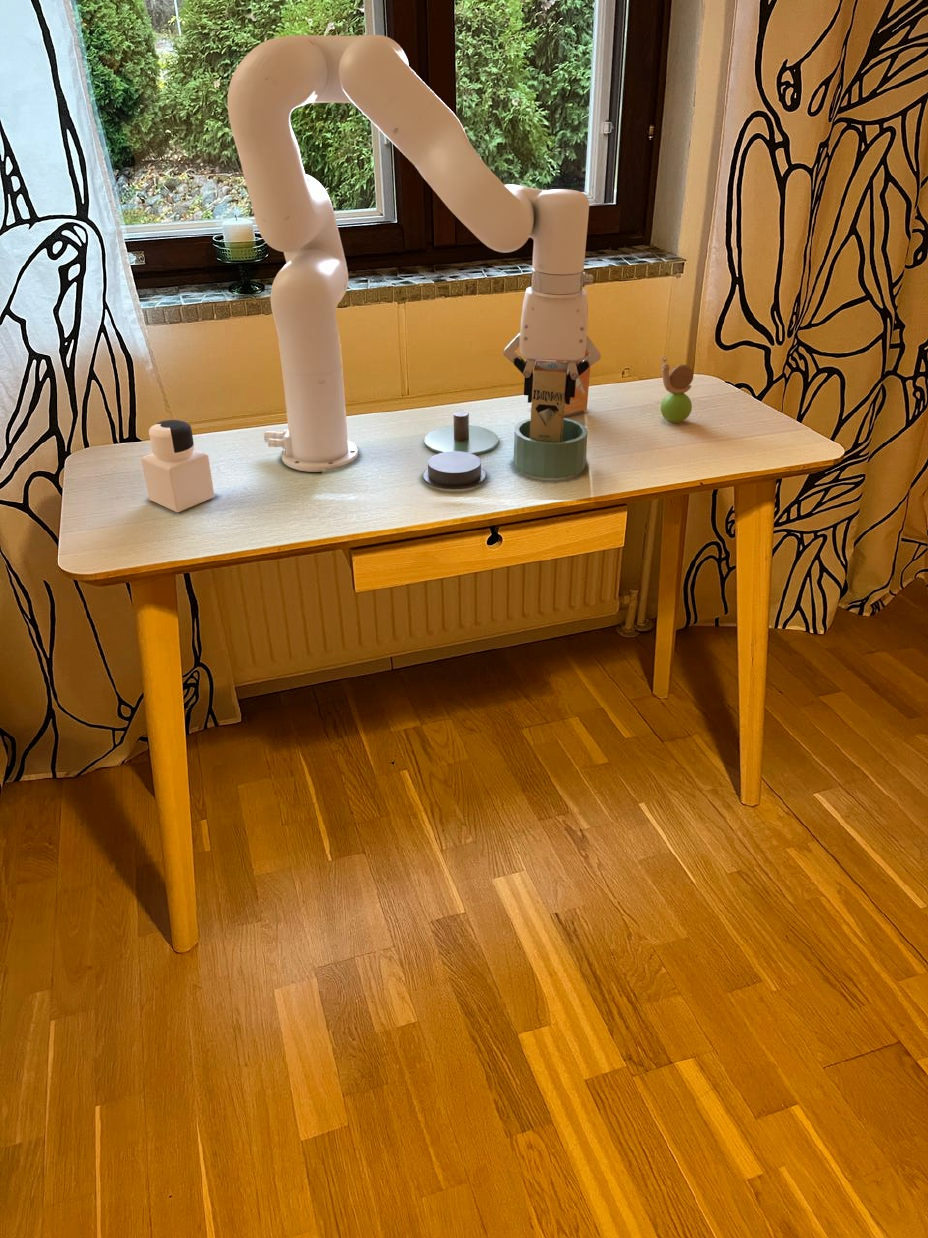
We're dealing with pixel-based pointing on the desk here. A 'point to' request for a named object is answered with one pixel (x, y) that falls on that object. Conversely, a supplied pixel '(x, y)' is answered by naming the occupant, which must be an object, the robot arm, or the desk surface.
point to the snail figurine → (676, 392)
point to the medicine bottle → (176, 467)
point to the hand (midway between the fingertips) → (548, 399)
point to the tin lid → (461, 437)
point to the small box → (578, 391)
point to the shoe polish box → (548, 401)
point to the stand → (454, 470)
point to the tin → (551, 451)
